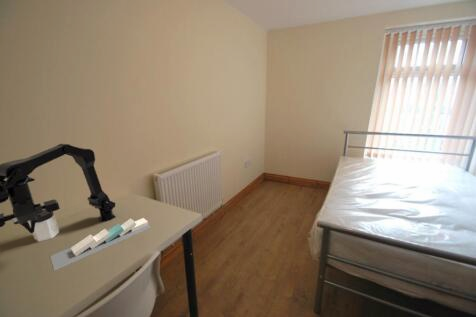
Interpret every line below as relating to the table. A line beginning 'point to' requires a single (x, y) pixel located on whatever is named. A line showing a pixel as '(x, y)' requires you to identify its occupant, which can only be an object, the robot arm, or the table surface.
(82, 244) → the domino
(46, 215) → the jar
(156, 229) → the table surface
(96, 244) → the domino
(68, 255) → the runner mat
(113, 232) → the domino
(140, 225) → the domino
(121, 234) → the domino
